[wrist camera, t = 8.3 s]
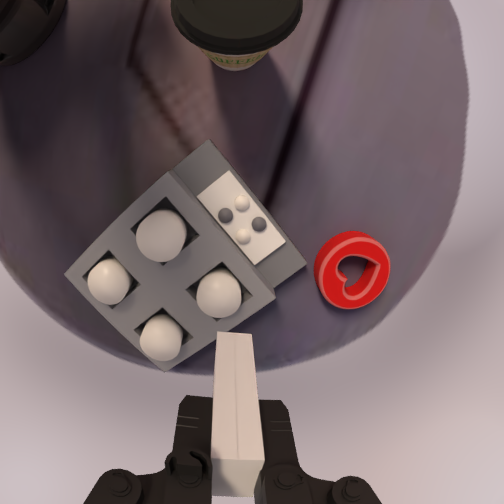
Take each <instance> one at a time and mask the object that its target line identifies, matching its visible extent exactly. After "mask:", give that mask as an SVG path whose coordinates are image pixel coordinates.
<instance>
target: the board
mask: <svg viewBox="0 0 504 504" xmlns="http://www.w3.org/2000/svg"><path fill="white" fill-rule="evenodd" d="M162 208H167V209H172V210H174V211H176V212H178V213H179V214H180V215H181V216H182V217H183V219H184V220H185V222H186V225H187V237H186V240H185V242H184V244H183V247H182V249H181V251H180V252H179V254H178V255H177V256H176V257H175V258H173V259H172V260H169V261H166V262H156V261H153V260H150V259H149V258H147V257H146V256H144V255H143V254H142V252H141V251H140V249H139V248H138V245H137V242H136V233H137V229H138V227H139V225H140V224H141V222H142V221H143V220H144V219H145V218H146V217H148V216H149V215H150V214H151V213H152V212H154V211H155V210H158V209H162ZM108 256H115V257H116V258H117V259H118V261H119V262H120V263H121V264H122V265H123V266H124V267H125V268H126V269H127V270H128V271H129V273H130V274H131V275H132V276H133V283H132V285H131V287H130V289H129V290H128V292H127V293H126V295H125V296H124V298H123V299H122V300H121V301H120V302H119V303H117V304H113V305H108V304H104V303H102V302H100V301H98V300H97V299H96V298H95V297H94V296H93V295H92V294H91V292H90V290H89V287H88V275H89V273H90V272H91V270H92V269H93V268H94V267H95V266H96V265H97V264H98V263H99V262H100V261H101V260H102V259H104V258H105V257H108ZM306 264H307V262H306V260H305V258H304V257H303V256H302V254H301V253H300V252H299V250H298V249H297V248H296V246H295V245H294V244H293V243H292V241H291V240H290V239H289V237H288V236H287V235H286V233H285V232H284V231H283V230H282V228H281V227H280V226H279V224H278V223H277V222H276V221H275V219H274V218H273V217H272V215H271V214H270V213H269V212H268V210H267V209H266V208H265V207H264V205H263V204H262V203H261V202H260V200H259V199H258V198H257V197H256V195H255V194H254V193H253V191H252V190H251V189H250V188H249V186H248V185H247V184H246V183H245V182H244V180H243V179H242V178H241V177H240V175H239V174H238V173H237V172H236V170H235V169H234V168H233V167H232V165H231V164H230V163H229V162H228V161H227V159H226V158H225V157H224V156H223V154H222V153H221V152H220V151H219V150H218V148H217V147H216V146H215V145H214V144H213V142H212V141H211V140H210V139H208V140H207V141H205V142H204V143H203V144H202V145H200V146H199V147H198V148H197V149H196V150H194V151H193V152H192V153H191V154H190V155H188V156H187V157H186V158H185V159H184V160H182V161H181V162H180V163H179V164H178V165H177V166H175V167H174V168H173V169H172V170H169V171H167V172H166V173H165V174H164V175H163V176H162V177H161V178H160V179H158V180H157V181H156V182H155V183H154V184H153V185H152V186H151V187H150V188H149V189H147V190H146V191H145V192H144V193H143V194H142V195H141V196H140V197H139V198H138V199H137V200H136V201H135V202H133V203H132V204H131V205H130V206H129V207H128V208H127V209H126V210H125V211H124V212H123V213H122V214H121V215H120V216H119V217H118V218H117V219H116V220H115V221H114V222H113V223H112V224H111V225H110V226H109V227H108V228H107V229H106V230H105V231H104V232H103V233H102V234H101V235H100V236H99V237H98V238H97V239H96V240H95V241H94V242H93V243H92V244H91V245H90V246H89V248H88V249H87V250H86V251H85V252H84V253H83V254H82V255H81V256H80V257H79V258H78V259H77V260H76V262H75V263H74V264H73V265H72V266H71V267H70V268H69V269H68V270H67V272H66V273H65V274H64V275H65V276H66V277H67V278H68V279H69V280H70V282H71V283H72V284H73V285H74V286H75V287H76V288H77V289H78V290H79V291H80V293H81V294H82V295H83V296H84V297H85V298H86V299H87V300H88V301H89V302H90V303H91V304H92V305H93V306H94V307H95V308H96V309H97V310H98V311H99V312H100V313H101V314H102V315H103V316H104V317H105V318H106V319H107V320H108V321H109V322H110V323H111V324H112V325H113V326H114V327H115V328H116V329H117V330H118V331H119V332H120V333H121V334H122V335H123V336H124V337H125V338H126V339H127V340H128V341H129V342H131V343H132V344H133V345H134V346H135V347H136V348H137V349H138V350H139V351H140V352H141V353H143V354H144V355H145V356H146V357H147V358H148V359H149V360H151V361H152V362H153V363H154V364H155V365H156V366H157V367H159V368H160V369H161V370H162V371H163V372H166V371H168V370H169V369H171V368H172V367H174V366H176V365H177V364H179V363H180V362H182V361H183V360H185V359H186V358H188V357H190V356H191V355H193V354H194V353H196V352H197V351H199V350H200V349H202V348H203V347H205V346H206V345H208V344H209V343H211V342H212V341H214V340H215V339H217V331H219V332H227V331H229V330H230V329H232V328H233V327H235V326H236V325H238V324H239V323H241V322H242V321H244V320H245V319H247V318H248V317H250V316H251V315H252V314H254V313H255V312H257V311H258V310H260V309H261V308H263V307H264V306H265V305H267V304H268V303H270V302H271V301H273V300H274V299H275V298H276V296H275V292H274V289H273V288H274V287H276V286H277V285H279V284H280V283H281V282H283V281H284V280H285V279H287V278H288V277H290V276H291V275H292V274H294V273H295V272H296V271H298V270H299V269H301V268H302V267H303V266H305V265H306ZM216 267H222V268H227V269H229V270H231V272H232V273H233V274H234V275H235V276H236V277H237V278H238V279H239V281H240V285H241V304H240V306H239V308H238V309H237V311H236V312H235V313H233V314H232V315H230V316H228V317H224V318H215V317H211V316H209V315H207V314H205V313H204V312H203V311H202V310H201V309H200V308H199V306H198V304H197V299H196V296H197V291H198V286H199V282H200V279H201V277H202V276H204V275H205V274H206V273H207V272H209V271H210V270H211V269H213V268H216ZM158 314H165V315H169V316H171V317H173V318H174V319H175V320H176V321H177V322H178V323H179V324H180V325H181V326H182V328H183V338H182V342H181V347H180V351H179V353H178V355H177V356H176V357H175V358H173V359H171V360H168V361H159V360H155V359H153V358H151V357H149V356H148V355H146V354H145V353H144V351H143V350H142V348H141V346H140V337H141V334H142V332H143V329H144V327H145V325H146V322H147V321H148V319H149V318H150V317H152V316H154V315H158Z"/></svg>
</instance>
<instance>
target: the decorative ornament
mask: <svg viewBox="0 0 504 504" xmlns="http://www.w3.org/2000/svg"><path fill="white" fill-rule="evenodd" d="M348 256H358V257H363V258H365V259H368V262H367V265H366V268H365V270H364V272H363V274H362V276H361V278H360V279H359V280H358V281H357V282H356V283H355V284H354V285H352V286H350V287H345V283H346V280H347V278H346V277H345V275H344V274H343V273H342V271H340V270H338V265H339V263H340V261H341V260H342V259H343V258H345V257H348ZM389 275H390V259H389V256H388V254H387V252H386V250H385V248H384V247H383V246H382V245H381V244H380V243H378V242H377V241H376V240H375V239H373V238H372V237H371V236H369V235H367V234H365V233H363V232H358V231H347V232H344V233H341V234H338V235H336V236H335V237H333V238H331V239H330V240H329V241H328V242H326V243H325V245H324V246H323V247H322V248H321V249H320V251H319V253H318V254H317V257H316V259H315V263H314V277H315V281H316V284H317V286H318V288H319V289H320V291H321V293H322V295H323V296H324V298H325V299H326V300H327V301H328V302H329V303H330V304H332V305H333V306H336V307H338V308H342V309H356V308H360V307H363V306H365V305H367V304H369V303H370V302H372V301H373V300H374V299H375V298H377V297H378V296H379V295H380V293H381V292H382V291H383V290H384V288H385V286H386V284H387V282H388V279H389Z"/></svg>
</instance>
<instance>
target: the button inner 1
mask: <svg viewBox="0 0 504 504" xmlns="http://www.w3.org/2000/svg"><path fill="white" fill-rule="evenodd" d="M132 283H133V276H132V275H131V274H130V273H129V271H128V270H127V269H126V268H125V267H124V266H123V265H122V264H121V263H120V262H119V261H118V259H117V258H116V257H115V256H108V257H105V258H104V259H102V260H101V261H100V262H99V263H98V264H97V265H96V266H95V267H94V268H93V269H92V270H91V272H90V273H89V275H88V287H89V290H90V292H91V294H92V295H93V296H94V297H95V298H96V299H97V300H98V301H100V302H102V303H104V304H108V305H113V304H117V303H119V302H120V301H121V300H122V299H123V298H124V296H125V295H126V293H127V292H128V290H129V289H130V287H131V285H132Z"/></svg>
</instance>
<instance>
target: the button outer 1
mask: <svg viewBox="0 0 504 504" xmlns="http://www.w3.org/2000/svg"><path fill="white" fill-rule="evenodd" d="M182 338H183V328H182V326H181V325H180V324H179V323H178V322H177V321H176V320H175V319H174V318H173V317H171V316H169V315H165V314H158V315H154V316H152V317H150V318H149V319H148V321H147V322H146V325H145V327H144V329H143V332H142V334H141V337H140V346H141V348H142V350H143V351H144V353H145V354H146V355H148V356H149V357H151V358H153V359H155V360H159V361H168V360H171V359H173V358H175V357H176V356H177V355H178V353H179V351H180V347H181V342H182Z"/></svg>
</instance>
